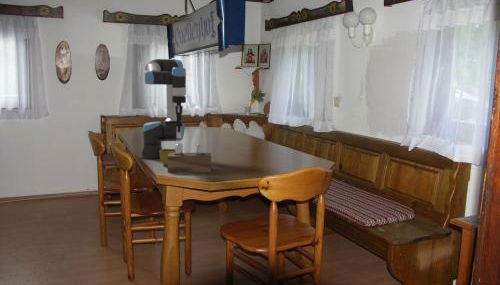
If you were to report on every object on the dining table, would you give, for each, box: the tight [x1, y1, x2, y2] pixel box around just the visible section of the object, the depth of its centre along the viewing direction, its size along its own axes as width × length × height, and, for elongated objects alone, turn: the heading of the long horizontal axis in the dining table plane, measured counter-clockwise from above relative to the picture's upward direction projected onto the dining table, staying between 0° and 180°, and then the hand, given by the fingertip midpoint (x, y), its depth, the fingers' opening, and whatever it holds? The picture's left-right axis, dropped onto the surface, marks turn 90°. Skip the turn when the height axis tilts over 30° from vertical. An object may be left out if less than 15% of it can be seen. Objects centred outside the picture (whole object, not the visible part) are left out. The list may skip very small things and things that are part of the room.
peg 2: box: [196, 143, 205, 155], centre depth 238 cm, size 4×4×9 cm
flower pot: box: [159, 148, 175, 166], centre depth 252 cm, size 9×9×9 cm
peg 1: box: [174, 143, 184, 155], centre depth 236 cm, size 4×4×9 cm
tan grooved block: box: [167, 152, 212, 173], centre depth 238 cm, size 12×24×9 cm, turn 97°
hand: (179, 137), depth 235 cm, fingers closed
